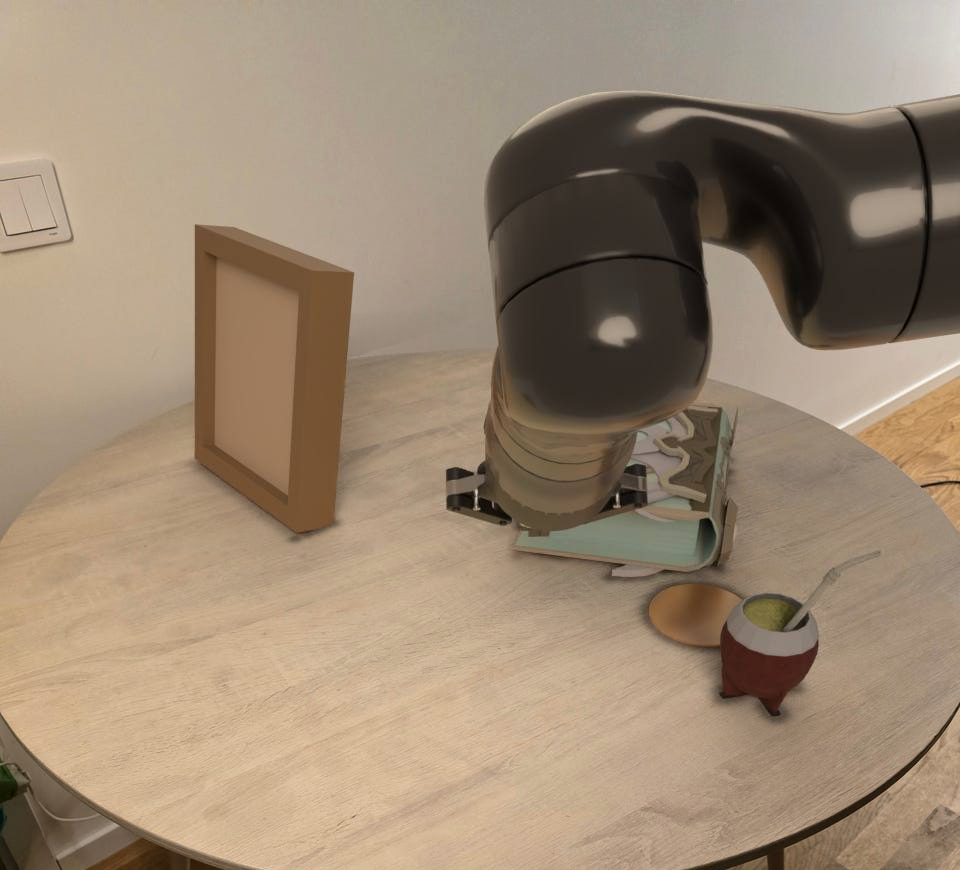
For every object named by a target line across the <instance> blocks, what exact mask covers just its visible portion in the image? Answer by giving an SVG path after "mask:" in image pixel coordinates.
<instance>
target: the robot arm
mask: <svg viewBox="0 0 960 870" xmlns="http://www.w3.org/2000/svg"><path fill="white" fill-rule="evenodd" d="M483 210H484V212H483V213H484V224H485V232H486V233H485V234H486V241H487V250H488V257H489V267H490V277H491V287H492V297H493V306H494V315H495V316H494V317H495V324H496V325H495V326H496V335H497V336H496V337H497V346H496V349H495V353H494V356H493V357H494V358H493V361H492V367H491V377H490V400H489V403H488V406H487V410H486V414H485V418H484V422H483V434H484V448H485V449H484V456H485V457H484V458H485V460H483V461H482V462H480V464H478V467H477V469H476V470H473V471H471V470H469V469H465V468H462V467H459V466H452V467H449V468H447V469H445V495H446V496H445V498H446V500H445V502H446V503H445V504H446V505H445V507H446V510H447V511H449V512H453V513H454V514H459V515H463V516H466V517H469V518H472V519H477V520H479V521H483V522H485V523H488V524H489V523H490V524H493V525H496V526H500V527H506V526H508V525H512V524H513V520H514V521H516V522H517V523H518V530H519V531H520V530H521V531H528V536H529V537H538V536H539V537H549V534H550V531H562V530H567V529H571V528H574V527H577V526H579V525H585V524H587V523H591V522H594V521H598V520H601V519H605V518H608V517H611V516H615V515H618V514H622V513H625V512H629V511H632V510H636V509H641V508H643V507H646V506H648V497H647V493H648V486H647V471H646V466H645V465H641V464H633V465H630V466H627V464H628V462H629V460H630V458H631V455H632V453H633V450H634V447H635V443H636V438H637V431H638V430H640V429H644V428H647V427H650V426H653V425H656V424H659V423H661V422H663V421H666V420H668V419H670V418H672V417H674V416H676V415H677V414H679V413H681V412H682V411H684V410H685V409H687V408H688V407H689V406H690V405H691V404H692V403H693V402H696V400H697V398H698V397H699V396H700V394H701V392H702V390H703V388H704V386H705V383H706V380H707V377H708V374H709V371H710V367H711V362H712V356H713V351H714V350H713V349H714V320H713V311H712V305H711V297H710V290H709V285H708V284H709V282H708V276H707V268H706V261H705V260H706V259H705V255H704V254H705V253H704V247H703V243H704V244H708V245H712V246H715V247H718V248H723V249H726V250H729V251H732V252H735V253H737V254H739V255H742V256H744V257H745V258H746V259H748V260H749V261H750V262H751V263H752V264H753V266H754V267H755V269H757V271H758V273H759V274H760V276H761V278H762V280H763V282H764V284H765V285H766V288H767V290H768V292H769V295H770V297H771V299H772V302H773V303H774V306H775V308H776V310H777V313H778V316H779V317H780V320H781V321H782V323H783V325H784V327H785V329H786V330H787V331H788V333H789V335H790V336H791V337H792V338H793V339H794V340H795V341H796V342H797V343H799V344H800V345H802V346H804V347H806V348H808V349H812V350H817V351H844V350H851V349H861V348H867V347H875V346H881V345H886V344H895V343H902V342H908V341H909V342H910V341H916V340H923V339H924V340H925V339H930V338H931V339H932V338H938V337H945V336H951V335H959V334H960V93H959V94H953V95H948V96H940V97H936V98H935V97H934V98H930V99H922V100H918V101H912V102H907V103H901V104H895V105H892V106H890V105H889V106H885V107H884V106H883V107H879V108H874V109H868V110H862V111H858V112H830V111H822V110H821V111H820V110H812V109H805V108H799V107H792V106H785V105H777V104H776V105H773V104H763V103H751V102H743V101H734V100H727V99H726V100H725V99H718V98H711V97H710V98H709V97H702V96H693V95H687V94H686V95H685V94H677V93H671V92H670V93H668V92H662V91H647V90H633V89H631V90H630V89H624V90H623V89H622V90H611V91H598V92H593V93H588V94H584V95H579V96H576V97H572V98H569V99H566V100H564V101H561V102H559V103H557V104H555V105H553V106H550V107H548V108H546V109H544V110H542V111H540V112H539V113H537V114H536V115H534V116H532V117H531V118H530V119H528V120H527V121H526V122H524V123H522V124H520V126H519V127H518V128H517V129H516V130H514V132H512V133H511V134H510V135H509V137H507V138H506V140H504V142H503V143H502V144H501V146H500V147H499V149H498V150H497V152H496V153H495V155H494V156H493V158H492V159H491V162H490V164H489V166H488V169H487V173H486V176H485V181H484V192H483ZM626 466H627V467H626Z"/></svg>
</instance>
